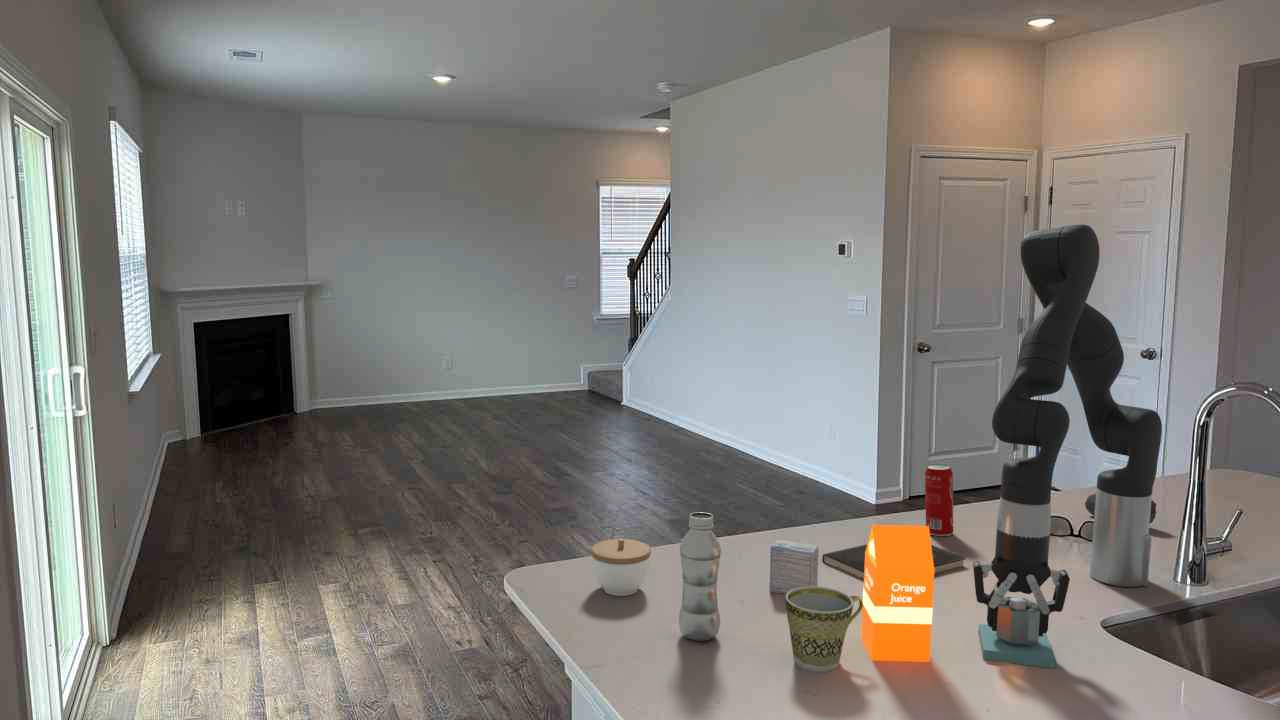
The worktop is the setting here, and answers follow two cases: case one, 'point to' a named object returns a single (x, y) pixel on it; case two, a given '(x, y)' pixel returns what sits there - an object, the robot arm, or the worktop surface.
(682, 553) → the plastic bottle
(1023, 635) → the tube
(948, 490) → the beverage can
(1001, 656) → the shaft stand
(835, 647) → the ceramic cup
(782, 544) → the medicine box
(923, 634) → the orange juice
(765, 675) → the worktop surface
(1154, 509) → the perforated stone tool
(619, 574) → the lidded jar
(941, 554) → the hardcover book
